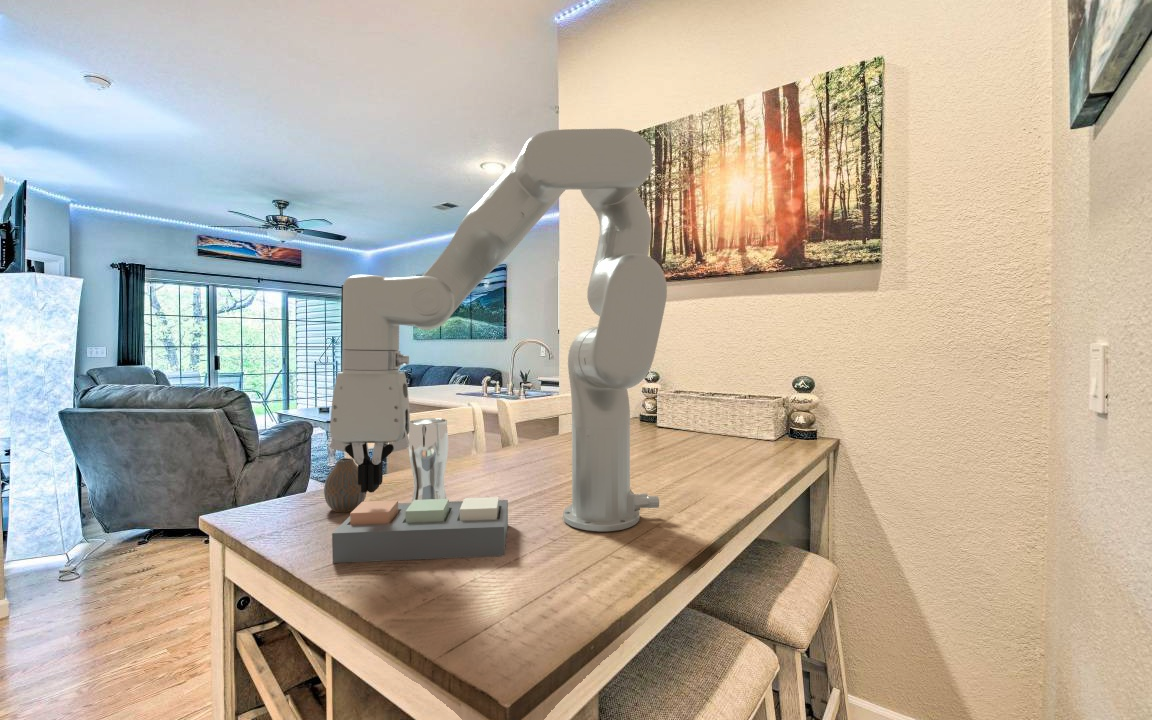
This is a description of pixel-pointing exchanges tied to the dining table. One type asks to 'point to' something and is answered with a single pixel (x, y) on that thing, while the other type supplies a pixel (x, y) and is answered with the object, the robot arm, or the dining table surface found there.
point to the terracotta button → (374, 512)
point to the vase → (343, 487)
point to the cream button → (479, 509)
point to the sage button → (428, 510)
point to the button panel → (421, 538)
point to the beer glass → (428, 457)
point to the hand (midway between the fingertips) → (370, 489)
